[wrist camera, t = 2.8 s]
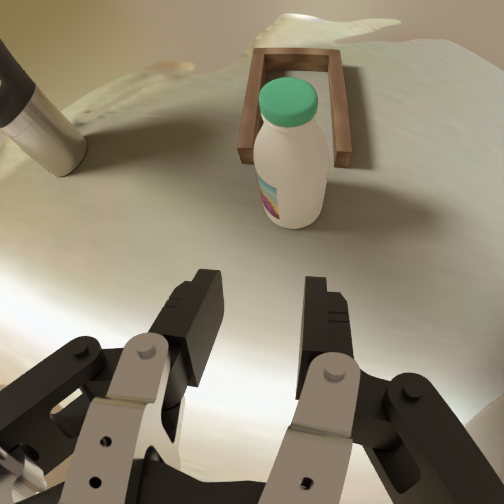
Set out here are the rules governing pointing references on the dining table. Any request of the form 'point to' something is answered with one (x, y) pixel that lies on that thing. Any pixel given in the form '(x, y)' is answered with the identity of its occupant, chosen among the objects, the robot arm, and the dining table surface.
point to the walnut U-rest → (301, 62)
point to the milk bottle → (291, 153)
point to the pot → (490, 434)
